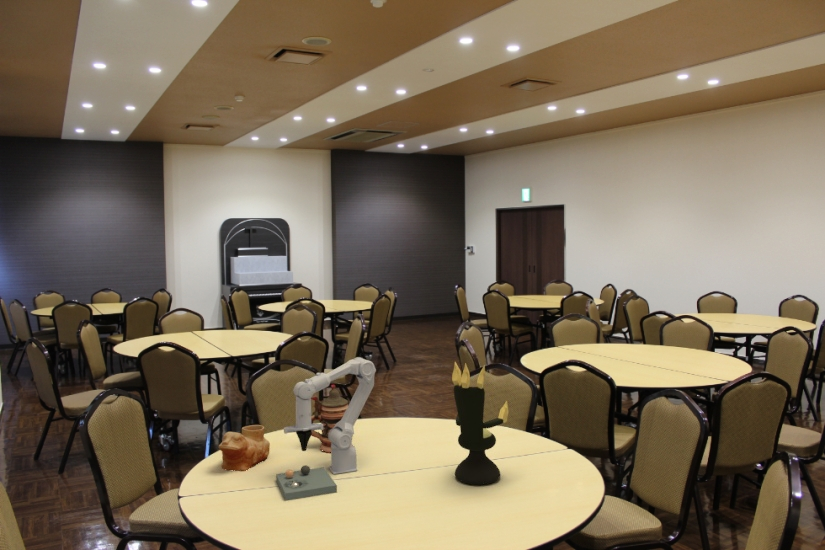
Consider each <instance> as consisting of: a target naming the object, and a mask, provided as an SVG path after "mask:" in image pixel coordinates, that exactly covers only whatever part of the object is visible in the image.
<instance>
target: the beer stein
mask: <svg viewBox="0 0 825 550" xmlns="http://www.w3.org/2000/svg"><path fill="white" fill-rule="evenodd" d="M330 388H331V390H329V393H328V397H327V398H326V399H324V400H323V399H322V400H319V396H317V395H315V394H313V396H312V397H311V401H314V404H313V407H314V411H313V412H311V424H314V421H320V424H321V423H322V424H323V430H321V433H320V432H319V431H317V430H311V432H312V435H311V437H314V438H317V439H319V441H320V442H321V445H320V448H321V449H320V451H321V450H323V451H325V452H323V451H321V452H323V453H329V454H331V453H330V452H331V442H330V441H329V438H328V434H329V432H330V430H331V429H333V428H334V427H335V425H336V423H338V422H339V421H341V419H342V417H343V415H344V413H345V411H346V409H347V407H348V405H349V400H347V399H345V398H343V396H342V395H340V392H339V390H338V389H336V385H335V384H331V385H330ZM352 445H353V442H352V443H351V445H350V446H352Z"/></svg>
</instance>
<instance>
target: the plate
mask: <svg viewBox="0 0 825 550" xmlns="http://www.w3.org/2000/svg"><path fill="white" fill-rule="evenodd" d="M293 472H294V475H293V477H292V478H287V477H286V475H285V474H286V472H280V473H276V474H275V477H276V478H275V481H276V483H277V485H278V488H279V490H280V492H281V494H282V496H283V497H284V500H285V501H292V500H298V499H305V498H310V497H316V496H321V495H328V494H333V493H337V492H338V489H337V488H338V485H337V483H336V482H335V481H334V479H333V478H332V477H331V475H330V474H329V473H328V471H327V470H326V468H325V467H324V466H322V467H321V466H320V467H316V468H315V467H314V468H310V472H309V473H308V474H307V475H303V474H302V473H301V470H296V471H294V470H293ZM293 482H297V483H298V484H299V486H297V487H292V486H291V484H292V483H293Z"/></svg>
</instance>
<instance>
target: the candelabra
mask: <svg viewBox="0 0 825 550" xmlns="http://www.w3.org/2000/svg"><path fill="white" fill-rule="evenodd" d="M485 366H486V365H485V364H484V365H483V366H482V369H481V370H480V372H479V374H478V377H477V381H476V386H470V385H471V381H470V379H471V375H470V371H469V368H468V365H467V363H466V362H465V364H464V367H463V371H461V369H460V367H459V366H458V364H457V362H456V361H454V366H453V371H452V375H451V376H452V378H451V380H452V381H451V382H452V384H453V385H454V386H453V397H454V402H455V406H456V411H457V412H456V413H457V414H456V417H455V425H456V426H457V427H458V426H459V429H460V430H459V431H460V434H459V435H458V436H457V443H458V445H459V446H460V447H461V448H463V449H464V450H468V451H469V452H468V455H467V456H466V457H465V458H464V459H463V460H462V461H461V462H460V463H459V464H458V465H457V467H455V471H454V476H455V478H456V479H457V480H458V481H460V482H461V483H463V484H466V485H472V486H474V485H475V486H482V485H489V484H494V483H495V482H497V481H498V479H499V478H501V471H500V469H499V467H498V465H497V464H495V462H494V461H492V460H491V459H490V458H489V457H488V456H487V455H486V451H487V450H490V449H492V448H494V446H495V445H496V443H497V437H496V436H495V434H493V433H492V432H491V431H490V430H488V429H491V428H494V427H496V426H497V427H498V426H501V425H502V424H505V423H507V422H508V416H509V405H508V400H505V403H504V404H503V406H501V408H500V410H499V414H498V417H496V418H493V419H490V420H487V421H484V414H485V413H484V410H485V398H486V391H485V388H484V385H485V380H486V368H485Z"/></svg>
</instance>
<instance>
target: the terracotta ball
mask: <svg viewBox="0 0 825 550" xmlns="http://www.w3.org/2000/svg"><path fill="white" fill-rule="evenodd" d="M285 473H286V474H285V475H286V477H287V478H292V477H293V475H294V470H292V469H288V470H286V471H285Z"/></svg>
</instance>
